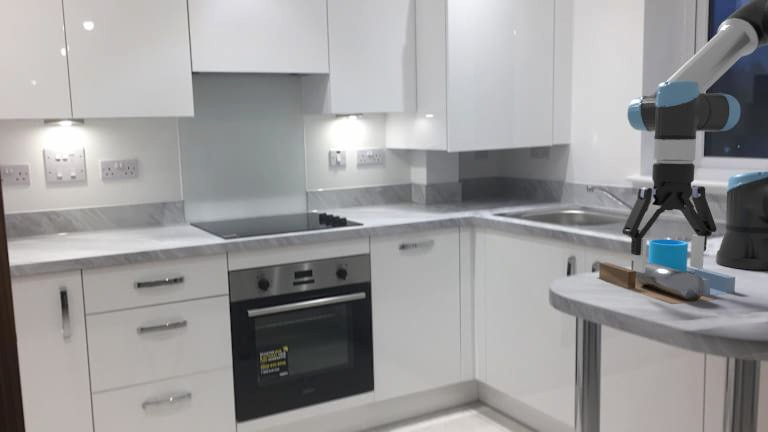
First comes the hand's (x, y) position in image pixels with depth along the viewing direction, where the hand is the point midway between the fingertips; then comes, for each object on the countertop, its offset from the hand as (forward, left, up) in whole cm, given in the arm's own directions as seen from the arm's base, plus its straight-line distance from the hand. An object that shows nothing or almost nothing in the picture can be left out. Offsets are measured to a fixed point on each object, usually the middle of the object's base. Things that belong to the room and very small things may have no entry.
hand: (668, 269), depth 139 cm
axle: (0, 0, -5) cm, 5 cm away
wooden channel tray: (0, -6, -6) cm, 9 cm away
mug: (-16, -19, -7) cm, 26 cm away
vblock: (-9, -1, -6) cm, 11 cm away
